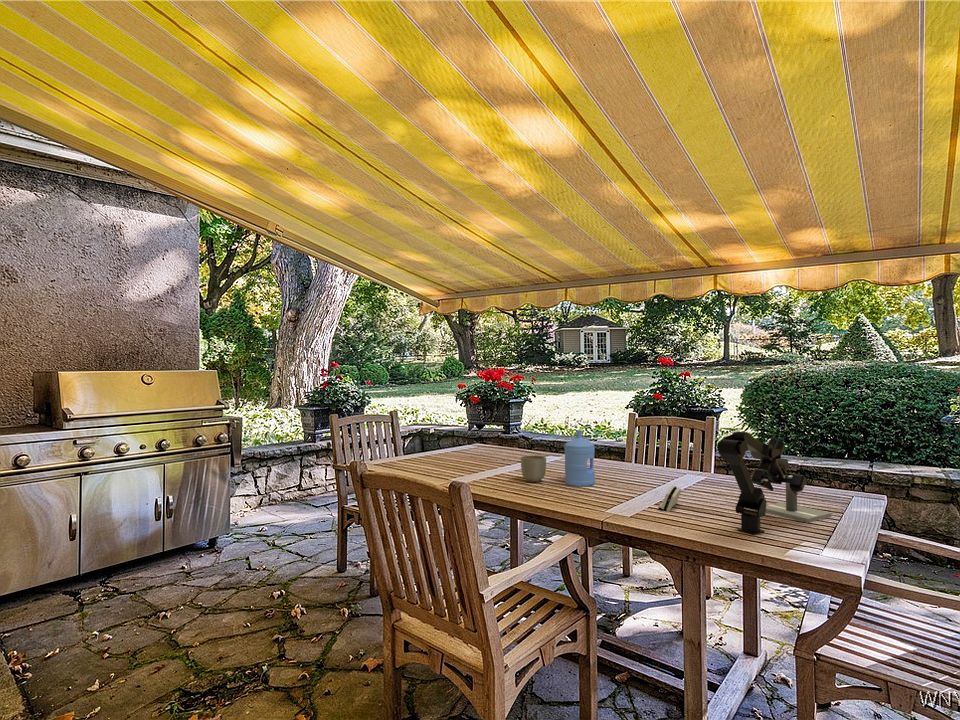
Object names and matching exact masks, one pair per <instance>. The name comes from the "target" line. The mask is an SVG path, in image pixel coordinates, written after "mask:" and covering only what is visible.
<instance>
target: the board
mask: <svg viewBox="0 0 960 720" xmlns="http://www.w3.org/2000/svg"><path fill="white" fill-rule="evenodd" d="M765 513H768V514H771V515H775V516H778V517H779V516H780V517H783V518H788V519H791V520H795V521H798V522H803V523H807V524H808V523H812V522H816V521H821V520H823V519H824V520H825V519H827V518H828V517H829V518H832V512H828V511H823V510H820V509H815V508H809V507H805V506H801V505H798V504H797V511H788V510H786V502H783V501H782V502H781V501H780V502H776V503H771V504H766V512H765Z"/></svg>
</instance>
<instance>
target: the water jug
mask: <svg viewBox="0 0 960 720" xmlns="http://www.w3.org/2000/svg"><path fill="white" fill-rule="evenodd" d="M575 432H576V433H575V435H576V436H575V438H574V439H571V440H570V441H568V442H566V443H565V444H564V472H565V473H564V474H565V475H564V477H565V478H564V481H565V484H566V485H569V486H571V485H572V487H580V486H584V487H591V486H594V485H595V484H596V477H595V476H596V473H595V472H596V471H595V469H594V465H595V464H594V458H595V450H596V449H595V448H596V447H595V443H594V442H590V441H589V440H586V439H585V438H583V430H581V429H578V430H575ZM588 460H589V467H588ZM590 485H591V486H590Z"/></svg>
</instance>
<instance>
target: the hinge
mask: <svg viewBox="0 0 960 720" xmlns="http://www.w3.org/2000/svg"><path fill="white" fill-rule="evenodd" d="M681 493H682V489H681V488H680V487H677V486H675V485H671V486H670V487H669V489H668V490H667V492H666V494H665V496H664V499H663V500H662V502H661V503H660V504H659V505H658V507H657V509H659V508H660V509H662V510H666V511H667V512H670V511H671V510H672V509H673V508H674V507H675V506H676V504H677V503H678V501H679V498H680V495H681ZM674 505H675V506H674ZM673 506H674V507H673ZM672 507H673V508H672ZM660 509H659V510H660Z"/></svg>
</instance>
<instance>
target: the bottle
mask: <svg viewBox="0 0 960 720" xmlns="http://www.w3.org/2000/svg"><path fill="white" fill-rule="evenodd" d="M792 476H793V475H792V474H791V475H788V477H792ZM785 503H786V510H788V511H797V505H798V495H795V494H794V493H793V492H792V491H791V488H790V483H786V482H785Z"/></svg>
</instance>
